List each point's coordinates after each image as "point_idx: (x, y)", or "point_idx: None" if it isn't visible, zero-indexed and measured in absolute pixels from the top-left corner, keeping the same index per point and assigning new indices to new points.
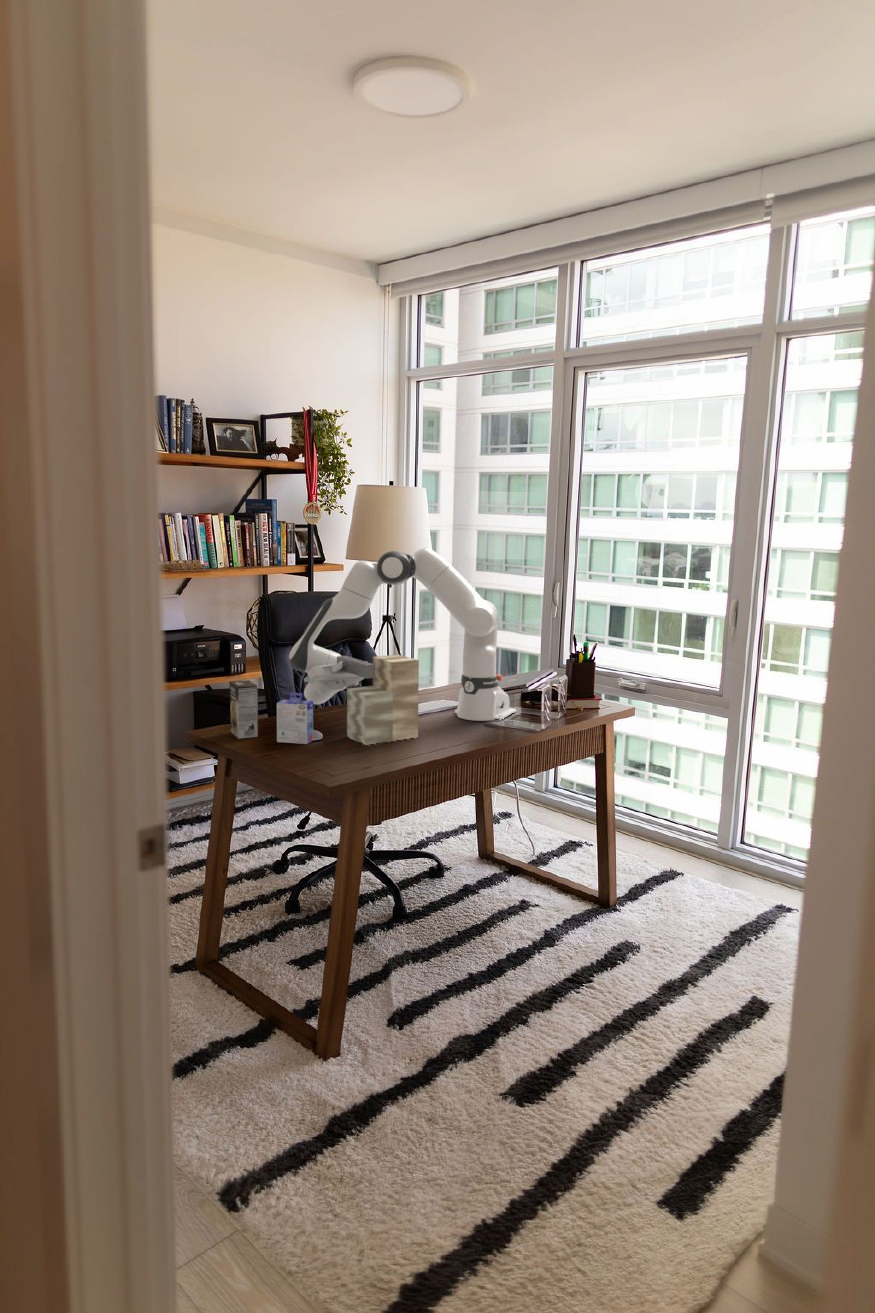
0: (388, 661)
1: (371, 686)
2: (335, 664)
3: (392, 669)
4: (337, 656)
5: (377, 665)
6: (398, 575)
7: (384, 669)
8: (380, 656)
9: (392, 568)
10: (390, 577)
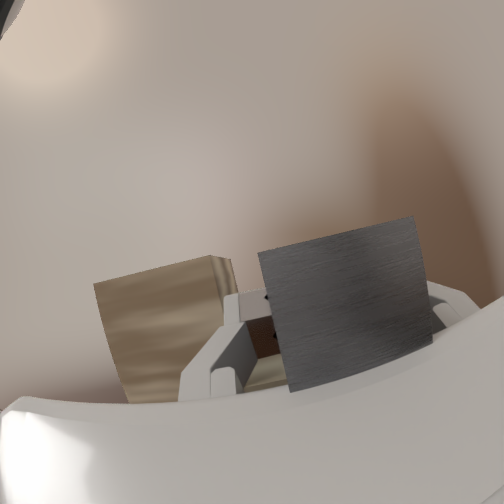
0: (227, 259)
1: (257, 380)
2: (428, 283)
3: (234, 278)
4: (402, 218)
5: (223, 286)
6: (2, 34)
7: (231, 289)
8: (175, 264)
9: (20, 9)
10: (7, 18)
